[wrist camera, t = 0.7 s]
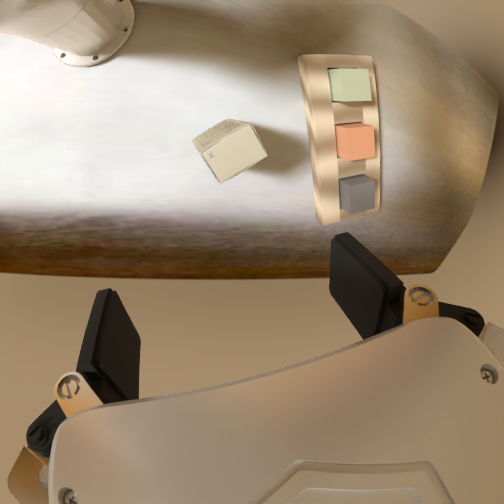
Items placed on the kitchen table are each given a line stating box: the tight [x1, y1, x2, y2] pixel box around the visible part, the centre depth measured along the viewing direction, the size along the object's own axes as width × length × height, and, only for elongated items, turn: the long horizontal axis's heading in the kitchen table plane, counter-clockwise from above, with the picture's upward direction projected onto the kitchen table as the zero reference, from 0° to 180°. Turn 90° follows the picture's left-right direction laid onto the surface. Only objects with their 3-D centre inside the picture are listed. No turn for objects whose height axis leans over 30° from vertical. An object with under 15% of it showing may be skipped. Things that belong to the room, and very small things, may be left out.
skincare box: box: [192, 119, 268, 184], centre depth 32 cm, size 6×4×12 cm
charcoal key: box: [339, 174, 375, 215], centre depth 43 cm, size 5×5×4 cm
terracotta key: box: [335, 123, 375, 161], centre depth 38 cm, size 5×5×4 cm
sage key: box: [328, 68, 372, 102], centre depth 33 cm, size 5×5×4 cm
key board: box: [297, 54, 380, 225], centre depth 40 cm, size 28×12×3 cm, turn 10°
